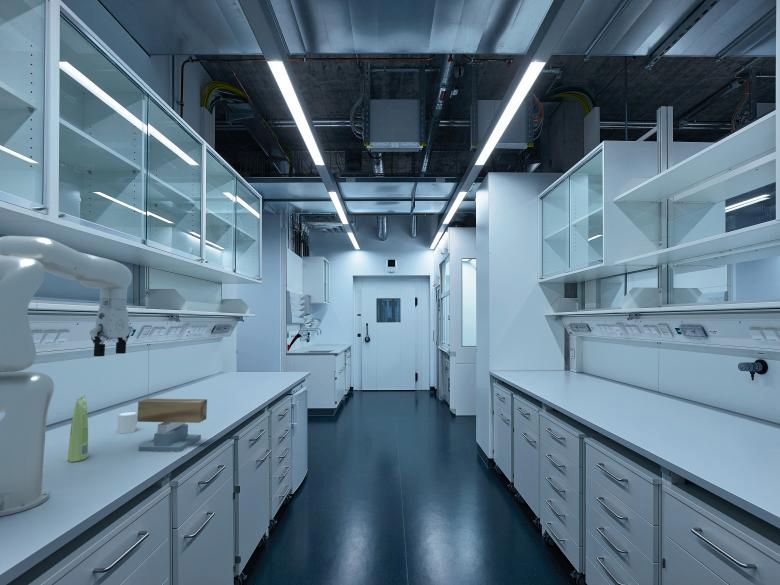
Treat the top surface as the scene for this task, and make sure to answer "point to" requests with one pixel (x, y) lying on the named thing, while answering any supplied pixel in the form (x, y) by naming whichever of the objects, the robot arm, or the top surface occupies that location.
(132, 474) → the top surface
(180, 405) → the walnut bar
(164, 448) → the stand
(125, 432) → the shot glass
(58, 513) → the top surface
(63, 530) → the top surface
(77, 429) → the tube
